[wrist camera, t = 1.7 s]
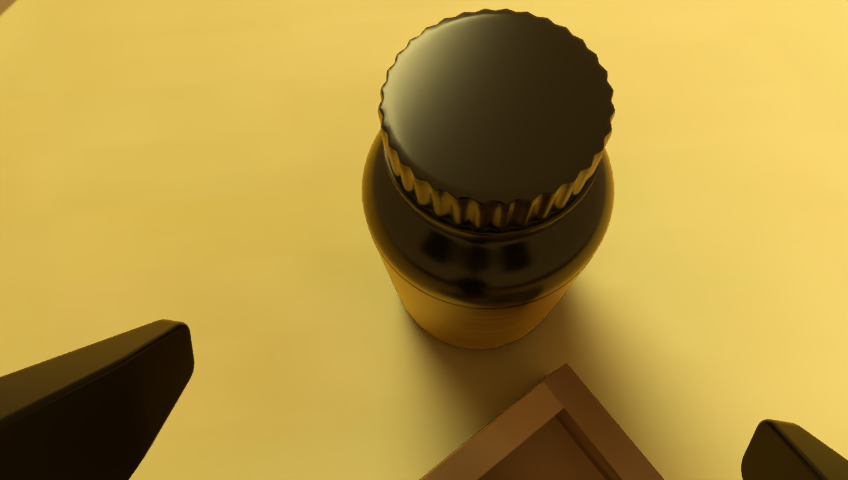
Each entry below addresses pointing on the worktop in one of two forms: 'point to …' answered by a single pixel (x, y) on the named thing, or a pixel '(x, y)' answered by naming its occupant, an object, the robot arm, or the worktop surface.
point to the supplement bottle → (489, 173)
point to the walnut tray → (549, 440)
